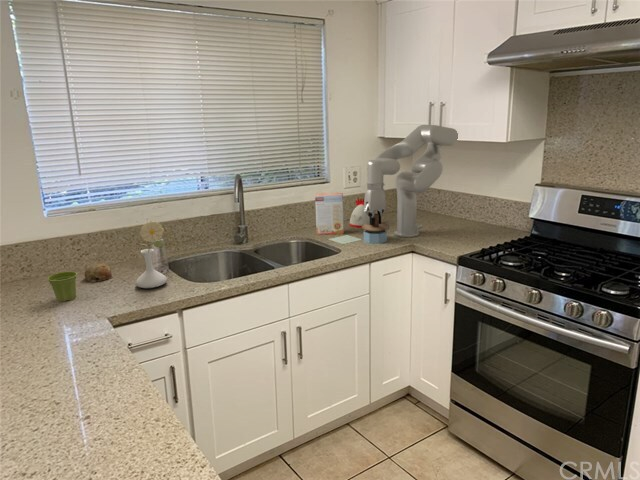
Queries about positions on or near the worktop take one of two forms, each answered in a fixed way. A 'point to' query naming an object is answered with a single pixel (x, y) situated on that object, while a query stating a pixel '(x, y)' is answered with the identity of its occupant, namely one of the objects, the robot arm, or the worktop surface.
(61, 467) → the worktop surface
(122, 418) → the worktop surface
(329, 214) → the cracker box
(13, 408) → the worktop surface
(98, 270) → the bread roll
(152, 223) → the flower in vase
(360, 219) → the kitchen timer
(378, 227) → the lid
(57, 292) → the plant pot
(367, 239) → the bowl
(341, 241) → the mat
